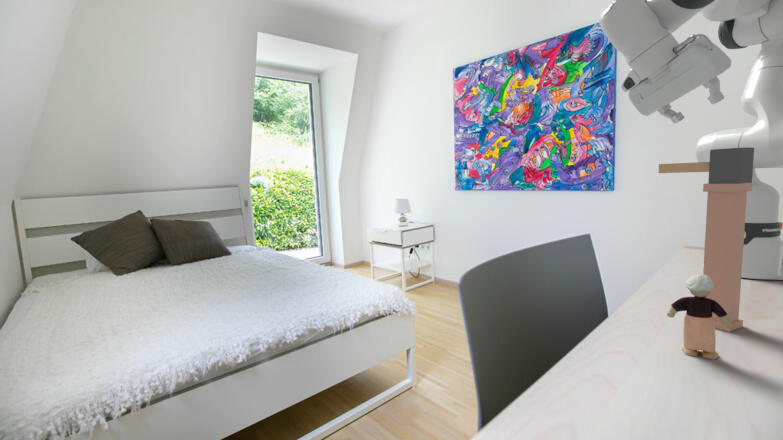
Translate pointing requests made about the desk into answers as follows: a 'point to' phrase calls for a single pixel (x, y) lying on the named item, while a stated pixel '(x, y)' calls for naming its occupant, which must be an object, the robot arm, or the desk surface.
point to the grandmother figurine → (699, 317)
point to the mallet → (720, 166)
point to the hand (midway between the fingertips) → (698, 111)
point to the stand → (725, 247)
